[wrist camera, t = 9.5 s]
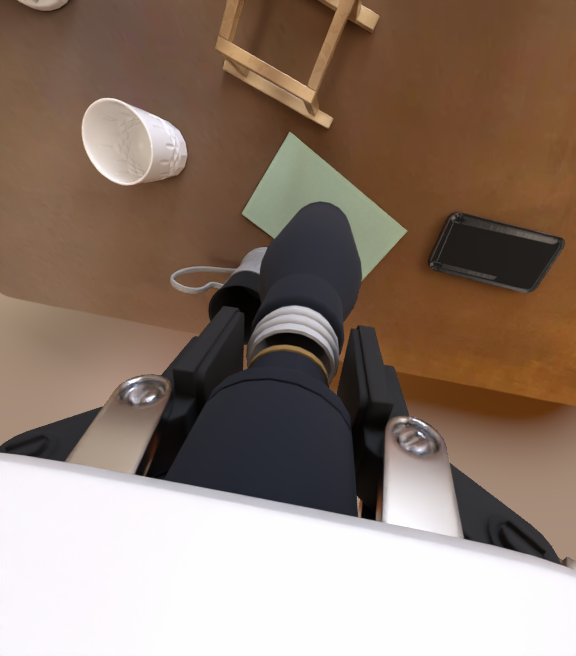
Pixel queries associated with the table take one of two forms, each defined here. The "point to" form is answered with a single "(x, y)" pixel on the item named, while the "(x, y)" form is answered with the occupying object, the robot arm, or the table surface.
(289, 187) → the mat
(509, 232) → the phone
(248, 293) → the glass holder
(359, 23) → the bottle stand
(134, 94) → the table surface
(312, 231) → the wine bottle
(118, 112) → the white cup
